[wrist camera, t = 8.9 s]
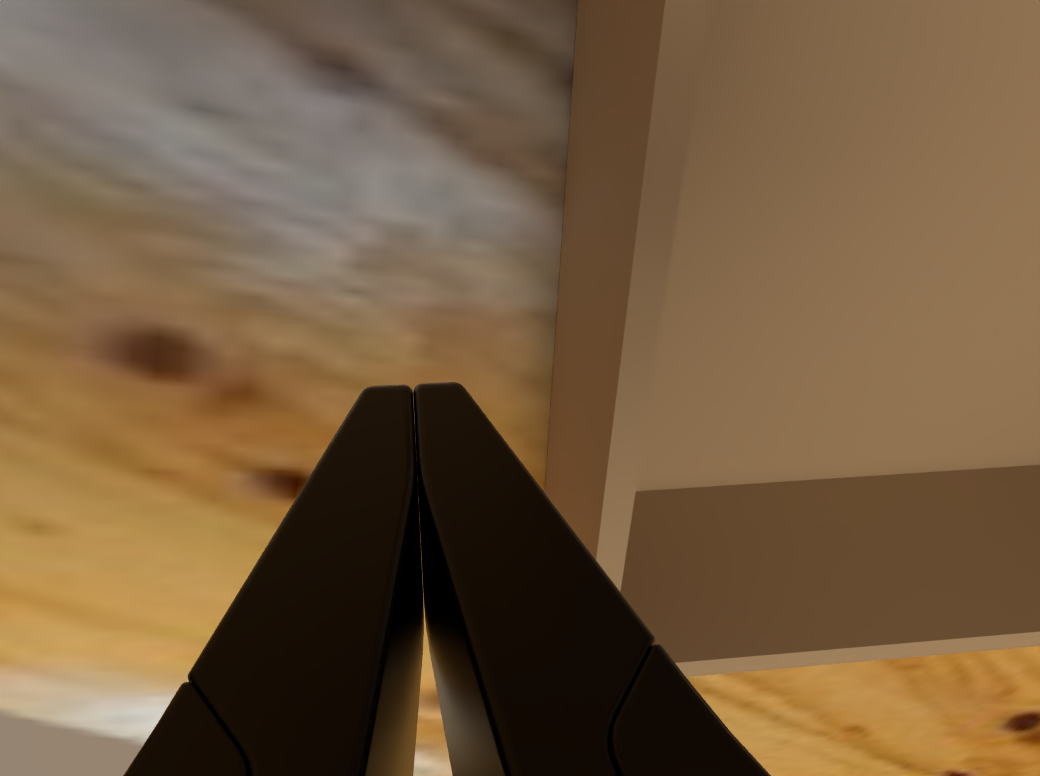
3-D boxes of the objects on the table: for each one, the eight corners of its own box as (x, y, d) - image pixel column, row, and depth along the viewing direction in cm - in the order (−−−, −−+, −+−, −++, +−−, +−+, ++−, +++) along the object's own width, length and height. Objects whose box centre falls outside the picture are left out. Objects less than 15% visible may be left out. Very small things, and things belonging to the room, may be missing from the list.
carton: (544, 496, 27) (580, 685, 23) (639, -909, 12) (814, -1202, 7) (1084, 460, 29) (1218, 630, 24) (1783, -799, 13) (2510, -982, 9)
